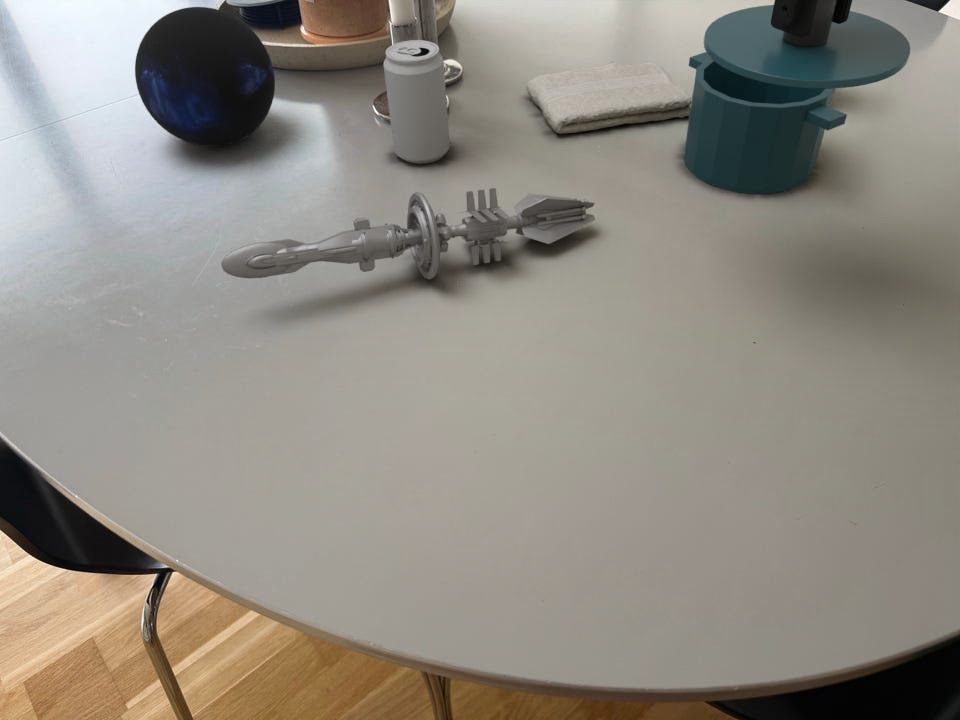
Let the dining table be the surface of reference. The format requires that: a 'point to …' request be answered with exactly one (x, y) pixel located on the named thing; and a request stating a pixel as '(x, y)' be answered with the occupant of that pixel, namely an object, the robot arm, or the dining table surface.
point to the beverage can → (417, 101)
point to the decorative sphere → (204, 76)
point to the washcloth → (608, 96)
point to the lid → (807, 49)
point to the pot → (754, 130)
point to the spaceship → (418, 236)
